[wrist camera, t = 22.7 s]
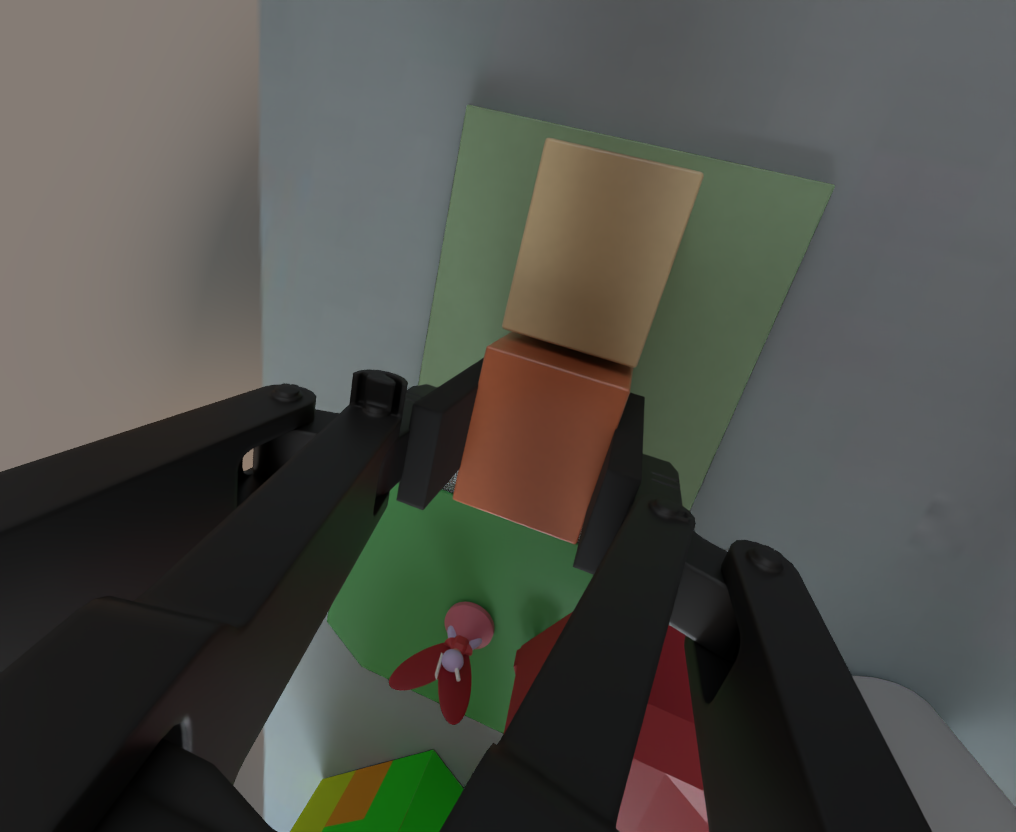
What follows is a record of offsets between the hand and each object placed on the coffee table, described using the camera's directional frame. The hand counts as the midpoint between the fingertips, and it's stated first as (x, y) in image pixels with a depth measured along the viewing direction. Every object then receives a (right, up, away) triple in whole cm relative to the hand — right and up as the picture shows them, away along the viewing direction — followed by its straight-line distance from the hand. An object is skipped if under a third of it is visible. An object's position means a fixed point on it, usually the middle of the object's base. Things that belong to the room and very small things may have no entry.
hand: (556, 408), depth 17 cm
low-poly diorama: (-1, -10, +7) cm, 12 cm away
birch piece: (+2, +5, 0) cm, 6 cm away
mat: (+1, +3, +1) cm, 4 cm away
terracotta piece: (0, 0, +1) cm, 1 cm away
